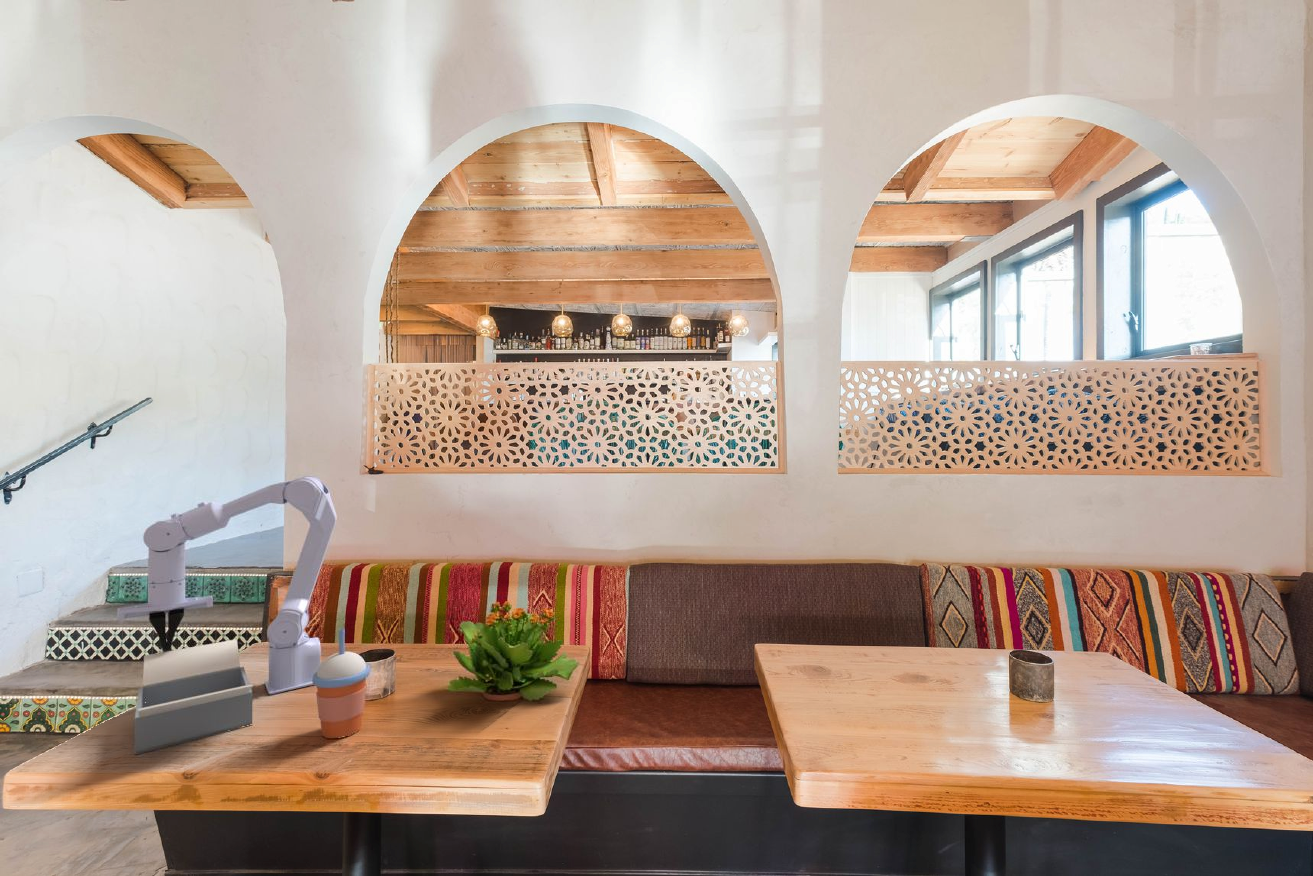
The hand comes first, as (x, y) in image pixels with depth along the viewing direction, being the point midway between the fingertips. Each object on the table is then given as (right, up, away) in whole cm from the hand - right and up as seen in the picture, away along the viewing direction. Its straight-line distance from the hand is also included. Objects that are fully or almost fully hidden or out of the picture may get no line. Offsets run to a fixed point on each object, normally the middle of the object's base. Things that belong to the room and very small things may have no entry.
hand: (166, 649), depth 118 cm
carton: (+13, -10, -9) cm, 19 cm away
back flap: (+5, -2, 0) cm, 6 cm away
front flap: (+20, -2, -18) cm, 27 cm away
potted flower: (+66, -10, +4) cm, 67 cm away
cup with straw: (+41, -10, -13) cm, 45 cm away
